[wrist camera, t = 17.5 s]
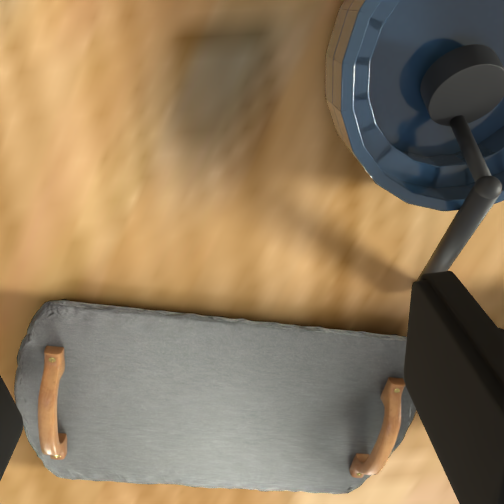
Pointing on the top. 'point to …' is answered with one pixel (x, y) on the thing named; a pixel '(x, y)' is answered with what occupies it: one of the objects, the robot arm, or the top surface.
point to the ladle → (464, 134)
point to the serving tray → (209, 399)
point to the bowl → (410, 94)
